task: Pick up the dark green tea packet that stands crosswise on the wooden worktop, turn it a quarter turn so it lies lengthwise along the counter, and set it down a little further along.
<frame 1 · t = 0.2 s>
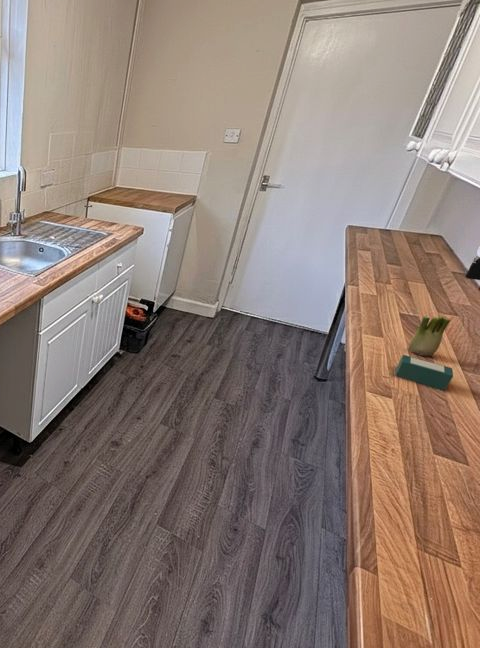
fennel bulb: (419, 354, 119), on the worktop
tea packet: (419, 379, 107), on the worktop
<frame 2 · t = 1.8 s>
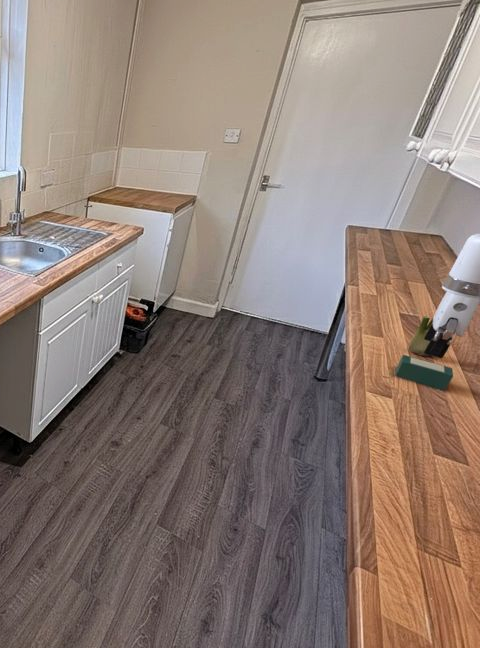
hand: (432, 348, 104), 9 cm above the worktop, tool pointing down, fingers open, 9 cm apart
nothing on the worktop moved.
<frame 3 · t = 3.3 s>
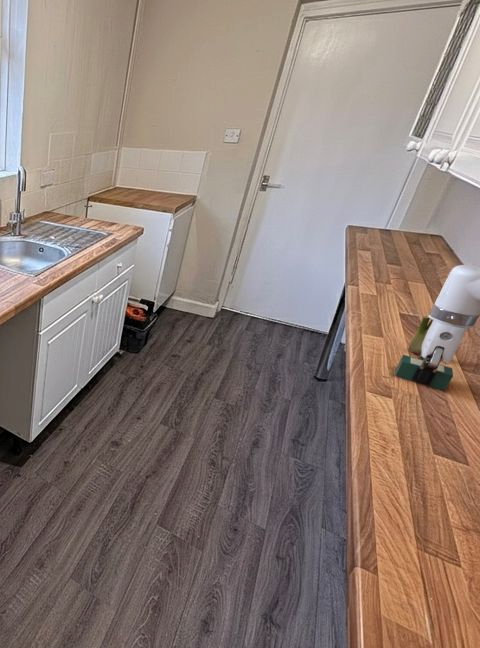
hand: (420, 377, 107), 1 cm above the worktop, tool pointing down, fingers closed on tea packet, 5 cm apart
tea packet: (419, 379, 107), on the worktop, touching gripper
everything else where it was.
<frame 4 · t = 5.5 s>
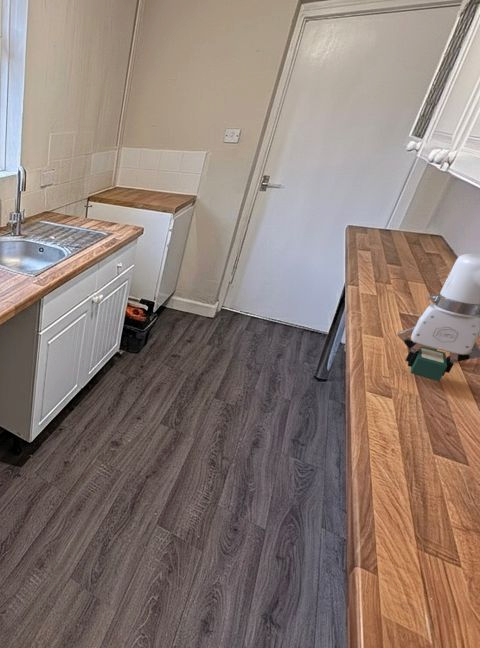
hand: (425, 368, 106), 3 cm above the worktop, tool pointing down, fingers closed on tea packet, 5 cm apart
tea packet: (424, 370, 106), point 3 cm above the worktop, touching gripper
everything else where it was.
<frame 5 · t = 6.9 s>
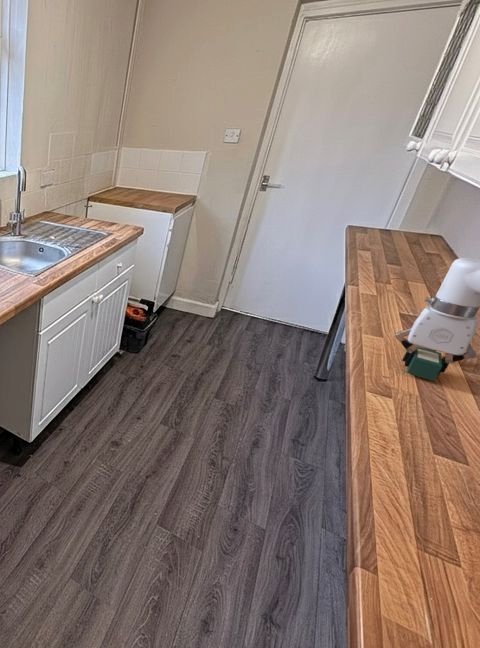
hand: (421, 368, 109), 1 cm above the worktop, tool pointing down, fingers closed on tea packet, 5 cm apart
tea packet: (420, 370, 110), point 1 cm above the worktop, touching gripper
everything else where it was.
when the fingers open (1 cm above the worktop, at t = 7.6 s): tea packet stays where it is, on the worktop.
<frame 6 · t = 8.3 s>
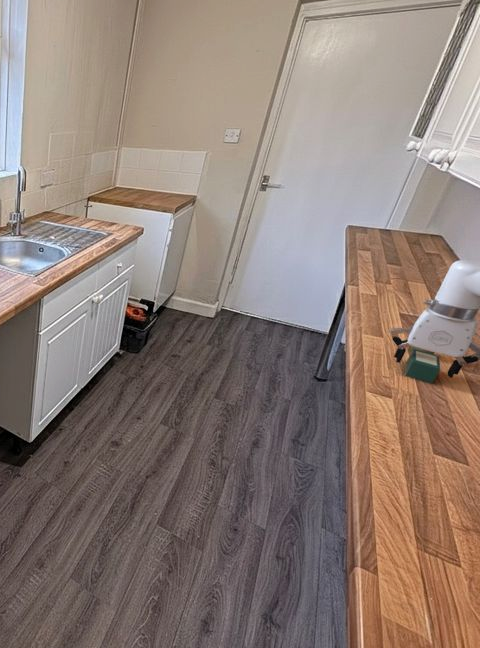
hand: (423, 367, 109), 2 cm above the worktop, tool pointing down, fingers open, 9 cm apart
tea packet: (418, 372, 110), on the worktop
everything else where it was.
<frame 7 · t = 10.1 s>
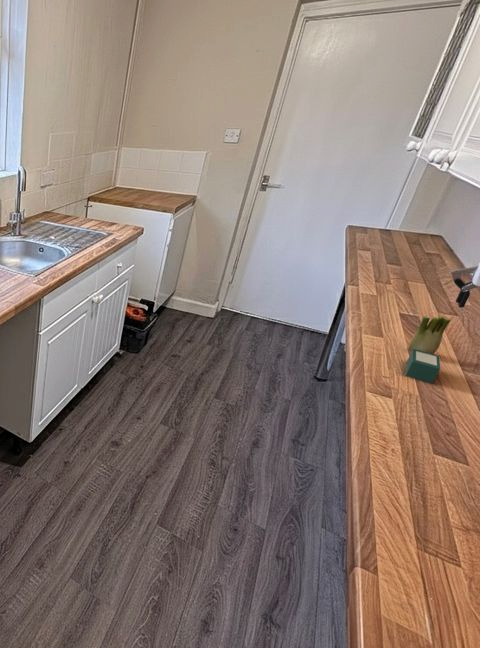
nothing on the worktop moved.
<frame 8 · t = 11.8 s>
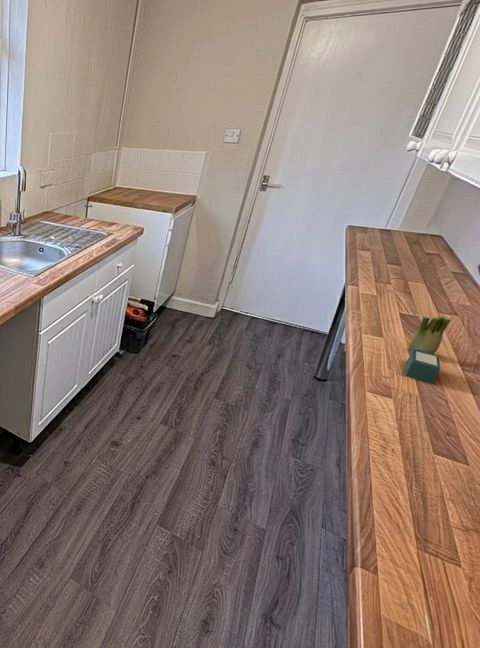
nothing on the worktop moved.
at the end: tea packet 0.2 cm from the target spot, on the worktop; tea packet tilted 0°; the gripper is holding nothing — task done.
